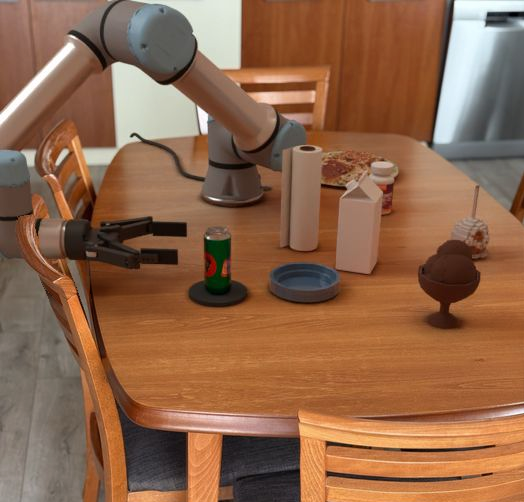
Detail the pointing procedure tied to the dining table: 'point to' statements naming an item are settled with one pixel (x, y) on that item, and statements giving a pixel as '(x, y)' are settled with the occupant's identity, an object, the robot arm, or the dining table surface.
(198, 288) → the coaster
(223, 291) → the soda can
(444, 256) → the ice cream bowl
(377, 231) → the milk carton
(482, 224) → the candy apple
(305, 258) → the dining table surface
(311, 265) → the dish
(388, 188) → the pill bottle
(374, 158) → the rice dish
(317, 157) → the paper towel roll
